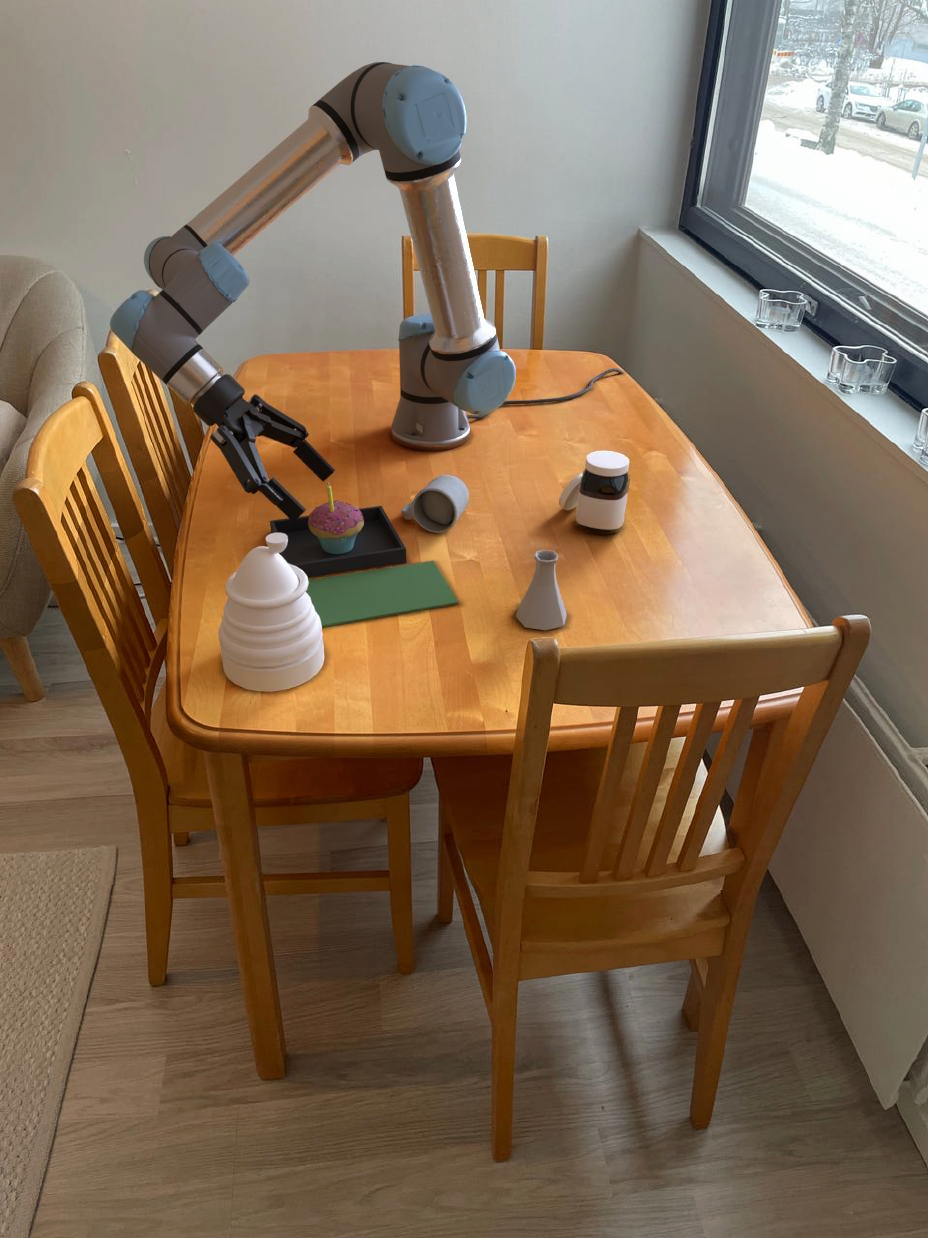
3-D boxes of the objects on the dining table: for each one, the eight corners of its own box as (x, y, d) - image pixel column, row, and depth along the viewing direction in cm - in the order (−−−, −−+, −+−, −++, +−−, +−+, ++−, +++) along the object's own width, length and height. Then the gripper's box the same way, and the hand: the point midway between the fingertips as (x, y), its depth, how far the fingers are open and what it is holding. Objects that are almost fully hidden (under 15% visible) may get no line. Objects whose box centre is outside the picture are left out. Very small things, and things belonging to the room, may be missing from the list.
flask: (512, 603, 130) (515, 542, 124) (562, 602, 131) (568, 541, 125) (518, 632, 124) (523, 570, 119) (571, 631, 125) (578, 568, 119)
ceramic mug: (471, 514, 152) (472, 472, 148) (456, 537, 146) (456, 493, 141) (412, 505, 155) (410, 463, 150) (394, 527, 148) (392, 483, 144)
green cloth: (433, 562, 139) (433, 560, 139) (458, 604, 130) (458, 601, 129) (302, 583, 133) (302, 580, 133) (319, 628, 124) (319, 625, 124)
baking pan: (381, 518, 150) (381, 505, 149) (406, 562, 139) (406, 548, 137) (270, 534, 145) (269, 520, 144) (287, 581, 134) (285, 566, 132)
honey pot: (324, 629, 124) (315, 511, 114) (324, 688, 113) (314, 564, 103) (228, 634, 122) (210, 514, 112) (218, 694, 112) (197, 569, 102)
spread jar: (617, 543, 145) (626, 476, 139) (548, 530, 148) (553, 464, 142) (630, 510, 155) (639, 446, 148) (565, 499, 158) (571, 436, 151)
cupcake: (355, 563, 138) (351, 491, 131) (301, 556, 139) (295, 485, 132) (371, 536, 145) (368, 466, 138) (320, 530, 146) (314, 461, 139)
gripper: (228, 376, 143) (325, 474, 149) (153, 438, 123) (269, 548, 129) (256, 346, 139) (355, 447, 146) (184, 404, 119) (302, 519, 125)
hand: (315, 495), depth 137 cm, fingers open, 13 cm apart
